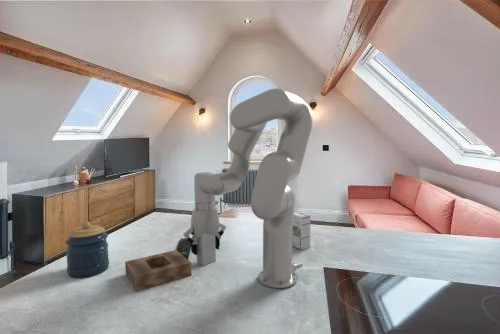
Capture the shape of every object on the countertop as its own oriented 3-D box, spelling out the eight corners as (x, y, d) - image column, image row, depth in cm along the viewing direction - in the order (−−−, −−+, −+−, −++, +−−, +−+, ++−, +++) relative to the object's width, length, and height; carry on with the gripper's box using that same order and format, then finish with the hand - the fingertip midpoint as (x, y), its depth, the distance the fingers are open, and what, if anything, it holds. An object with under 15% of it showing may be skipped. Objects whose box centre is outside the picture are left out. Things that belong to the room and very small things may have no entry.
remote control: (173, 262, 107) (173, 259, 107) (181, 241, 131) (180, 238, 131) (187, 262, 108) (187, 258, 108) (192, 240, 132) (192, 237, 131)
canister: (62, 271, 100) (59, 222, 98) (101, 259, 109) (99, 215, 108) (73, 283, 91) (70, 229, 89) (115, 269, 100) (112, 221, 99)
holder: (176, 261, 107) (176, 249, 107) (191, 275, 96) (191, 262, 95) (125, 274, 97) (125, 261, 96) (135, 291, 85) (135, 277, 85)
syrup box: (310, 247, 120) (311, 214, 119) (300, 250, 117) (301, 216, 116) (301, 243, 125) (301, 211, 124) (291, 246, 122) (291, 213, 121)
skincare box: (209, 258, 110) (208, 228, 109) (216, 261, 107) (215, 230, 106) (196, 262, 106) (195, 231, 105) (202, 266, 103) (202, 234, 102)
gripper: (220, 201, 113) (221, 243, 114) (178, 207, 103) (180, 253, 104) (230, 204, 107) (230, 249, 108) (186, 211, 97) (188, 260, 98)
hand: (205, 250), depth 106 cm, fingers open, 8 cm apart
